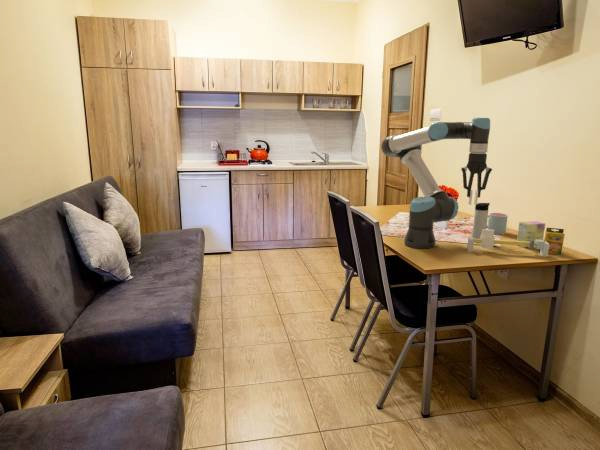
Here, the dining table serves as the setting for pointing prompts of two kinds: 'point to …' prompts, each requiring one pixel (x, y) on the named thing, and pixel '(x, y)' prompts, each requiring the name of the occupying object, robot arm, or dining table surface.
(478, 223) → the travel mug
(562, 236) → the crayon box
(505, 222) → the mug
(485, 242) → the sleeve
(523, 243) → the rail
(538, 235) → the box
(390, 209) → the dining table surface
